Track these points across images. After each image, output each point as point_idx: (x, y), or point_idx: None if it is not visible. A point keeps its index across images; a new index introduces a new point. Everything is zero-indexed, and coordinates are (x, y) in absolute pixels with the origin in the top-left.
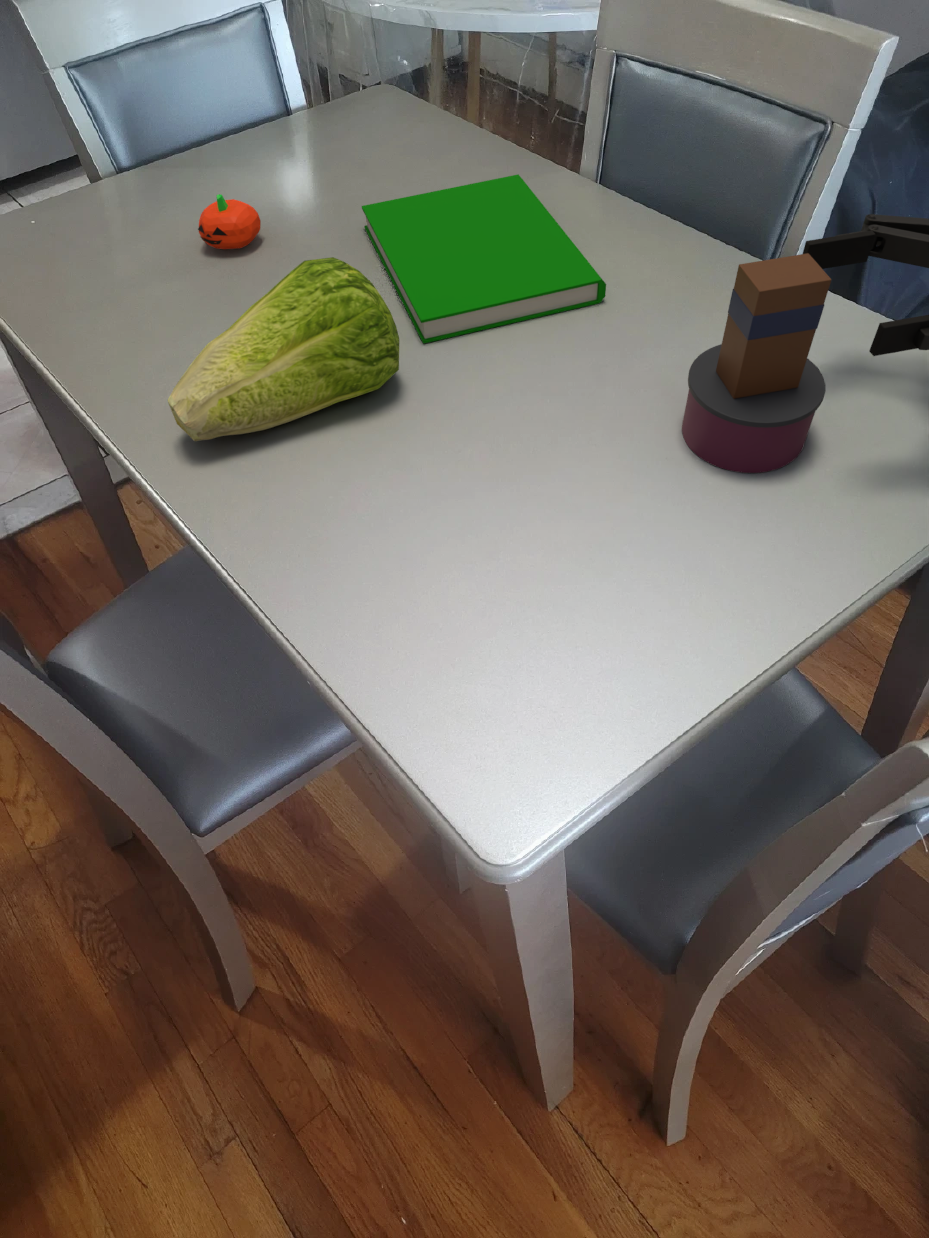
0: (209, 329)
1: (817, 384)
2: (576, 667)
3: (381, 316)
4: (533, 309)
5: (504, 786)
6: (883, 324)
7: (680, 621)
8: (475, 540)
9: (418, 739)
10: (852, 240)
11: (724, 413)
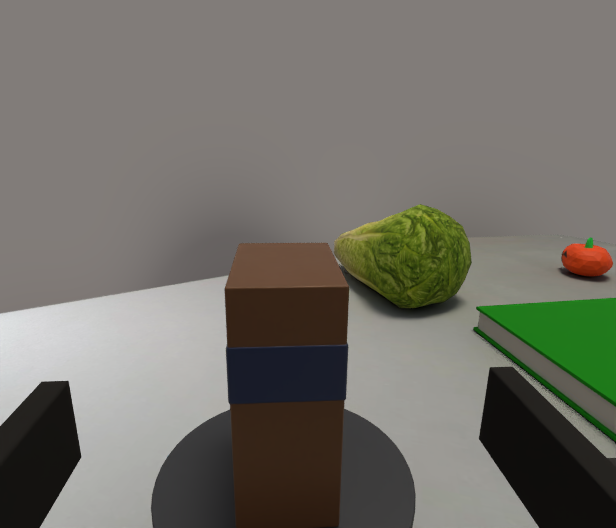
0: None
1: None
2: (50, 358)
3: (398, 242)
4: (559, 383)
5: (6, 326)
6: (55, 383)
7: None
8: (212, 333)
9: (73, 307)
10: (582, 476)
11: (218, 415)
